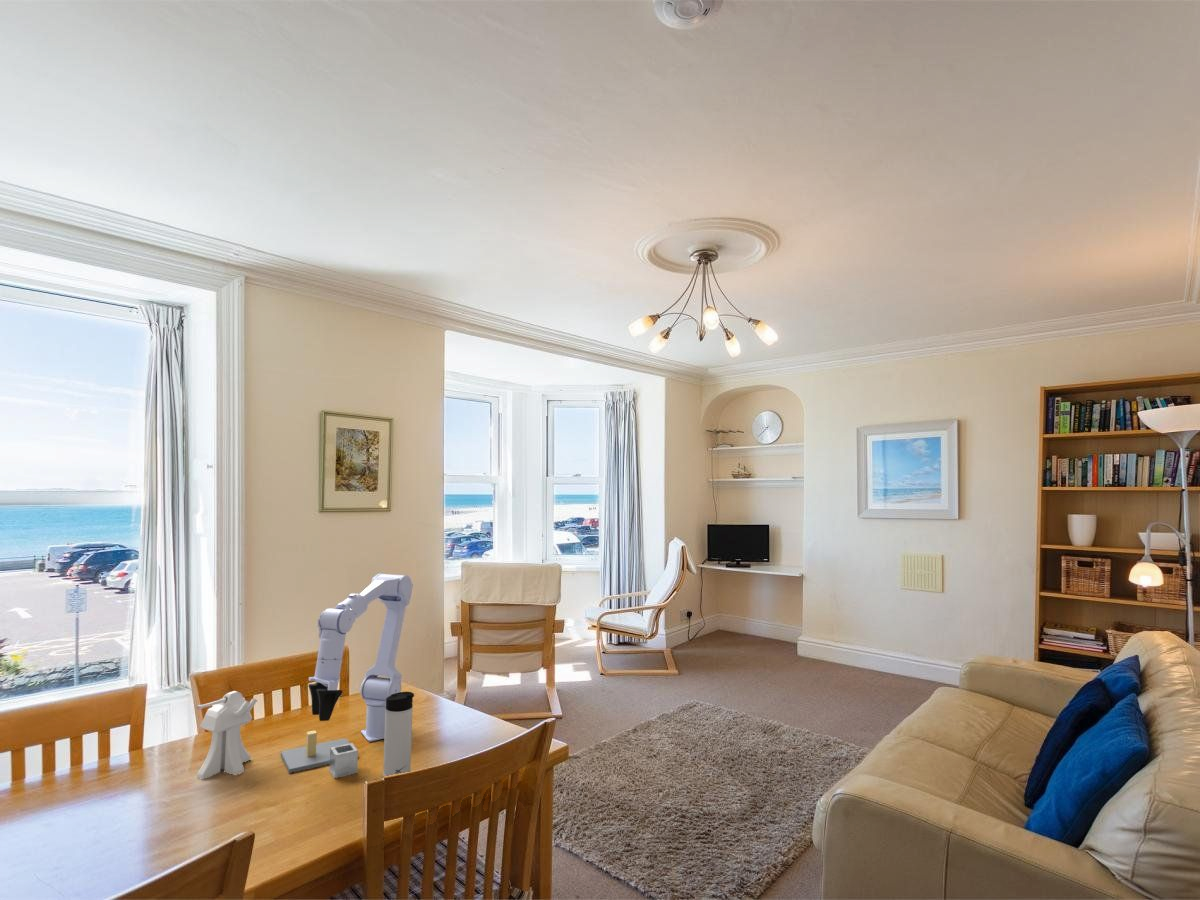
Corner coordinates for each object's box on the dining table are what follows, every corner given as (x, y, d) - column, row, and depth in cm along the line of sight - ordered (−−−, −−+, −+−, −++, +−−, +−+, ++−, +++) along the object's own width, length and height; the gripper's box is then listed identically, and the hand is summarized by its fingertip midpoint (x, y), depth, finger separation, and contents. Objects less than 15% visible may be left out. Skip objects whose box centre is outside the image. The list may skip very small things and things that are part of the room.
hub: (351, 765, 160) (352, 742, 160) (357, 773, 156) (357, 750, 156) (329, 770, 157) (330, 747, 157) (334, 778, 153) (335, 755, 153)
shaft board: (345, 741, 174) (346, 717, 174) (357, 757, 164) (358, 732, 164) (280, 755, 164) (281, 729, 165) (289, 773, 155) (290, 746, 155)
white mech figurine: (179, 774, 153) (183, 697, 154) (233, 753, 165) (237, 682, 166) (209, 786, 147) (213, 707, 148) (263, 764, 159) (266, 690, 160)
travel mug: (403, 785, 150) (406, 698, 151) (377, 782, 151) (380, 696, 152) (416, 773, 156) (419, 690, 157) (391, 770, 158) (394, 687, 158)
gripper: (306, 655, 162) (296, 712, 159) (319, 662, 150) (309, 724, 147) (335, 655, 165) (326, 711, 162) (350, 662, 154) (341, 722, 151)
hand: (320, 717), depth 155 cm, fingers open, 7 cm apart
